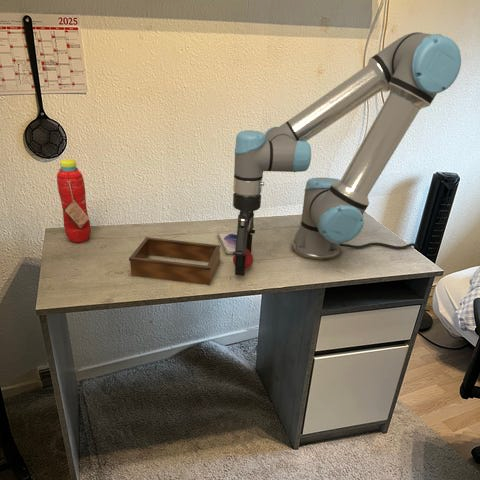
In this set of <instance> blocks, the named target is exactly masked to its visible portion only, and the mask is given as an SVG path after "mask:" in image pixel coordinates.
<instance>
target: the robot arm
mask: <svg viewBox="0 0 480 480" xmlns="http://www.w3.org/2000/svg"><path fill="white" fill-rule="evenodd" d="M461 67H462V56H461V50H460V48H459V46H458V44H457V43H456V42H455V41H454V40H453V39H452V38H450V37H448V36H445V35H442V34H441V33H426V32H410V33H408V34H404V35H402V36H401V37H399V38H398V39H396V40H394V41H393V42H391V43H390V44H388V45H387V46H385V47H384V48H382V50H380V51H378V52H377V53H376V54H375V55H373V56H372V57H370V58H369V59H368V62H367V65H365V66H364V67H363V68H361V69H359V70H358V71H357V72H356V73H354V74H352V75H351V76H350V77H348V78H347V79H346V80H344V81H343V82H342V83H340V84H338V85H337V86H335V87H334V88H333V89H331V90H330V91H328V92H327V93H325V94H324V95H323V96H322V97H320V98H318V99H317V100H315V101H314V102H313V103H311V104H310V105H309V106H307V107H306V108H304V109H303V110H301V111H300V112H298V113H296V114H295V115H294V116H293V117H291V118H289V119H288V120H287V121H285V122H284V123H282V124H280V126H272V127H270V128H268V129H267V130H266V131H265V133H264V132H263V131H259V130H252V129H251V130H250V129H249V130H246V129H245V130H242V131H239V132H238V133H237V134H236V137H235V146H234V147H235V148H234V166H233V167H234V169H233V185H232V186H233V187H232V191H233V194H232V207H233V208H235V210H238V211H239V214H238V216H237V231H236V233H237V239H236V248H235V252H233V254H232V255H233V256H234V255H235V256H236V260H235V265H234V276H238V277H239V276H240V277H245V275H246V270H245V261H246V253H245V251H246V248H247V249H248V250H249V251H250V252H251V253H252V249H253V246H252V245H253V235H255V234H256V229H254V228H255V226H254V225H255V224H254V221H255V220H254V218H255V211H258V210H260V208H261V207H262V206H261V205H262V203H261V202H262V195H261V193H262V190H263V189H262V187H264V186H265V182H264V181H263V177H264V175H263V174H264V172H282V173H283V172H284V173H286V172H287V173H299V172H301V173H302V172H307V170H309V168H310V166H311V162H312V148H311V145H310V143H309V142H308V141H310V140H311V139H312V138H314V137H316V136H317V135H318V134H320V133H321V132H323V131H324V130H325V129H328V127H330V126H332V125H333V124H334V123H336V122H337V121H340V119H342V118H344V117H345V116H347V115H348V114H350V113H351V112H352V111H354V110H356V108H359V107H360V106H361V105H363V104H365V103H366V102H367V101H369V100H371V99H373V97H375V96H376V95H379V93H381V92H382V93H388V92H389V94H388V96H387V97H386V99H385V101H384V102H383V104H382V106H381V108H380V110H379V112H378V113H377V115H376V116H375V118H374V120H373V122H372V124H371V125H370V127H369V129H368V131H367V132H366V135H364V138H363V140H362V142H361V143H360V145H359V147H358V149H357V150H356V152H355V154H354V156H353V157H352V159H351V161H350V163H349V165H348V166H347V168H346V170H345V172H344V173H343V175H342V176H341V178H340V179H338V178H333V177H312V178H309V179H308V180H307V181H306V183H305V188H304V198H303V204H302V211H301V221H300V226H299V228H298V230H297V232H296V234H295V236H294V238H293V240H292V241H291V245H292V246H291V248H292V251H293V252H294V253H295V254H297V255H298V256H300V257H302V258H305V259H309V260H315V261H327V260H333V259H335V258H337V257H338V256H339V255H340V250H341V247H343V248H352V249H364V248H367V247H371V246H380V247H386V248H389V249H394V250H404V249H407V248H410V247H414V248H416V249H418V248H419V246H418V244H416V243H414V242H411V243H408V244H406V245H392V244H388V243H384V242H368V243H365V244H362V245H354V244H348V243H347V242H351V241H352V240H355V238H357V237H358V235H360V233H361V232H362V230H363V228H364V224H365V221H364V213H365V212H366V210H367V209H368V207H369V206H370V200H369V194H370V193H371V191H372V190H373V188H374V186H375V184H377V181H378V179H379V178H380V176H381V175H382V174H383V171H385V168H386V166H387V165H388V163H389V162H390V160H391V158H392V157H393V156H394V153H395V151H396V150H397V148H398V146H399V145H400V143H401V142H402V140H403V138H404V137H405V135H406V133H407V132H408V130H409V129H410V127H411V125H412V124H413V122H414V120H415V118H416V117H417V116H418V114H419V112H420V111H421V110H422V109H424V108H425V109H426V108H427V107H430V106H431V105H432V102H433V101H434V100H435V98H436V96H437V94H440V93H443V92H444V91H446V90H448V89H449V88H451V86H452V85H453V84H454V83H455V81H457V78H458V76H459V73H460V71H461Z"/></svg>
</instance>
